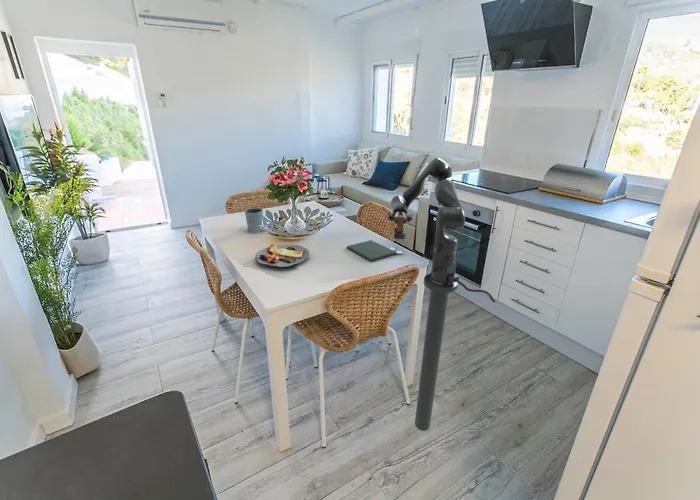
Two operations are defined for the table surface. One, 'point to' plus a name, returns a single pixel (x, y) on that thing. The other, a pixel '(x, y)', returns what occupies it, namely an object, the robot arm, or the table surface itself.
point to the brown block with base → (399, 228)
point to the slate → (371, 250)
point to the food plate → (282, 255)
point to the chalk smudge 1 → (398, 252)
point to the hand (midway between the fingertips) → (400, 221)
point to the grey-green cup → (254, 219)
